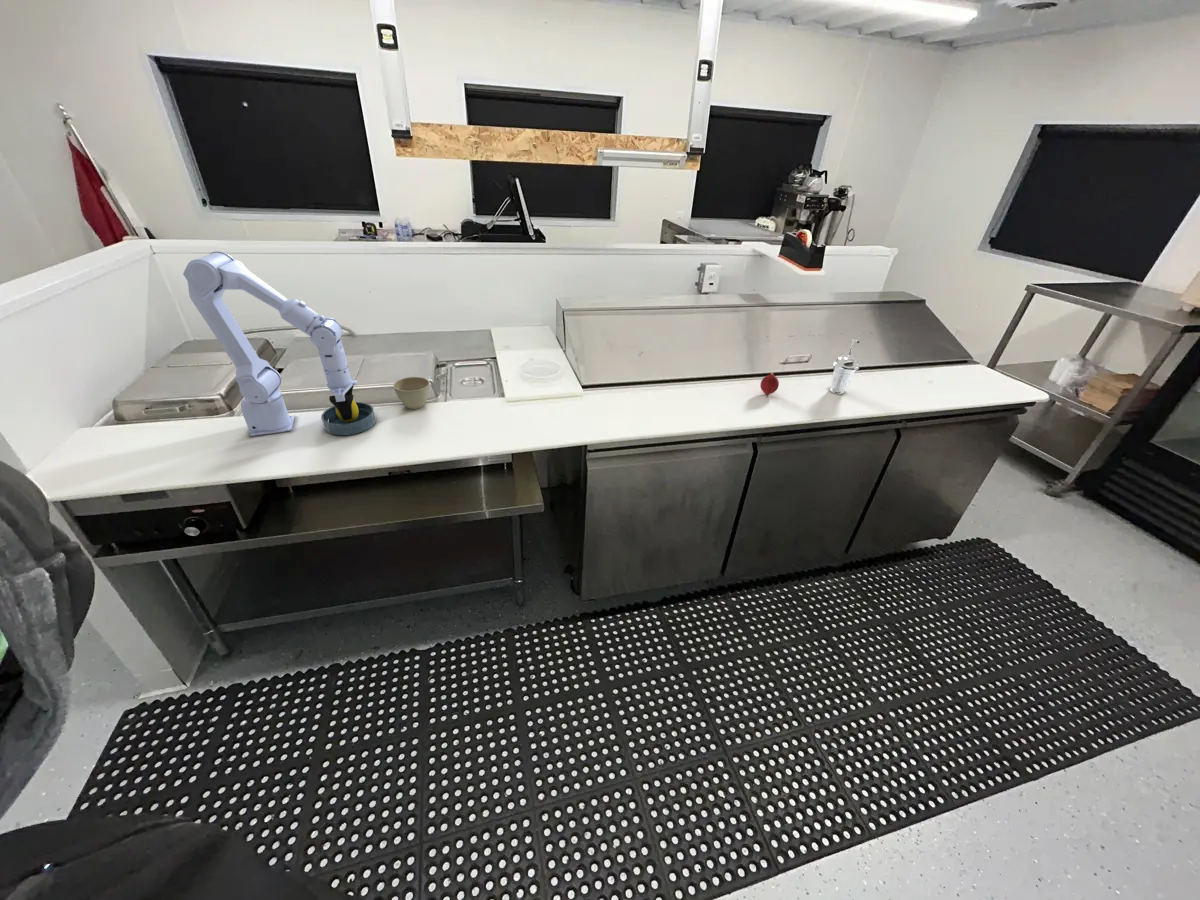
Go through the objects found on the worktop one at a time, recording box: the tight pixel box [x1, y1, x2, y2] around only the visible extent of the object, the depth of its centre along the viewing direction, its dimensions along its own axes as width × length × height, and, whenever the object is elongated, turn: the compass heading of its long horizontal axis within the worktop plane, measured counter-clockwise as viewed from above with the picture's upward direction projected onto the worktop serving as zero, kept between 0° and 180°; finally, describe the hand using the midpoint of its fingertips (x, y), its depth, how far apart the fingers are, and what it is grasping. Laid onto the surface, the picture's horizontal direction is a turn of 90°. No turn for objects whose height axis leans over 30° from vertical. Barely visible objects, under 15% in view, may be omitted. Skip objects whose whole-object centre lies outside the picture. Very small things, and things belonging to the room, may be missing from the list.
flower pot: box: [392, 376, 431, 410], centre depth 144 cm, size 10×10×7 cm
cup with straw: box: [829, 338, 860, 395], centre depth 164 cm, size 8×9×20 cm
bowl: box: [320, 401, 377, 436], centre depth 134 cm, size 13×13×4 cm
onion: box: [759, 371, 780, 396], centre depth 162 cm, size 6×6×8 cm
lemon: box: [336, 399, 359, 423], centre depth 132 cm, size 6×6×8 cm
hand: (348, 413), depth 133 cm, fingers closed on lemon, 5 cm apart
